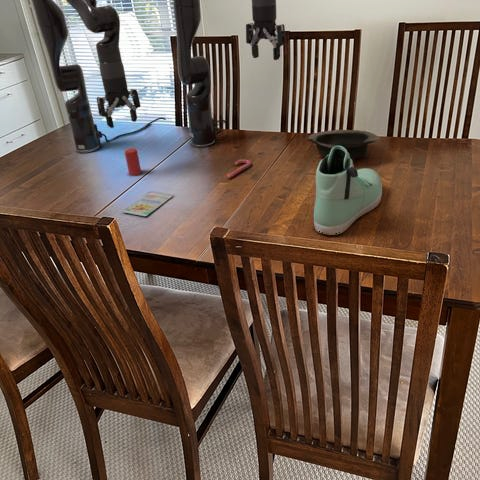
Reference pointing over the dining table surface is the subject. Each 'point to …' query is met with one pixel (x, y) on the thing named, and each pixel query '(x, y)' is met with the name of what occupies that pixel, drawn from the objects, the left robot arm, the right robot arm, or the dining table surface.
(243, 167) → the candy cane
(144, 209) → the baking ingredient package
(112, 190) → the dining table surface
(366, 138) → the stone bowl
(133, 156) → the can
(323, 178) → the sneaker
